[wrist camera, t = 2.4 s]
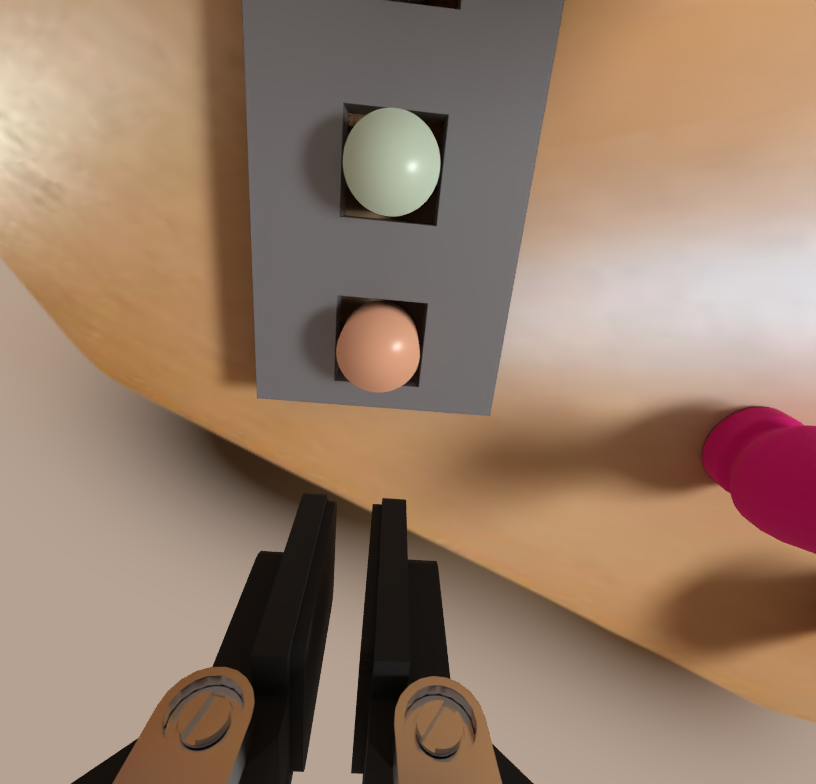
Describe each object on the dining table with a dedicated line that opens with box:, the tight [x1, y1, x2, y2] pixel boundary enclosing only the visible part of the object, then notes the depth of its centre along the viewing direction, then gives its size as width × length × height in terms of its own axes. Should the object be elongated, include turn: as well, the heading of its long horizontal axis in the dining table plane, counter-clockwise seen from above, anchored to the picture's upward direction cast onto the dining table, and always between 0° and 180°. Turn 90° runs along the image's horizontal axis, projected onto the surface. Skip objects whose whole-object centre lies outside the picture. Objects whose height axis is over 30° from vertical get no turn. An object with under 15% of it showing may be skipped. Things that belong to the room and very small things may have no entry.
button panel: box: [242, 0, 564, 416], centre depth 23 cm, size 26×14×2 cm, turn 175°
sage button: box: [343, 108, 440, 216], centre depth 22 cm, size 4×4×3 cm
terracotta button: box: [336, 301, 420, 393], centre depth 25 cm, size 4×4×3 cm
